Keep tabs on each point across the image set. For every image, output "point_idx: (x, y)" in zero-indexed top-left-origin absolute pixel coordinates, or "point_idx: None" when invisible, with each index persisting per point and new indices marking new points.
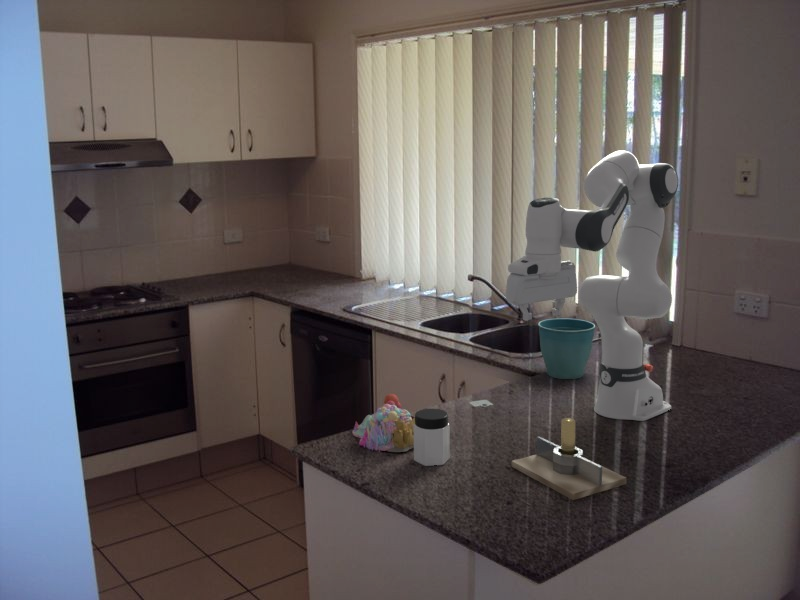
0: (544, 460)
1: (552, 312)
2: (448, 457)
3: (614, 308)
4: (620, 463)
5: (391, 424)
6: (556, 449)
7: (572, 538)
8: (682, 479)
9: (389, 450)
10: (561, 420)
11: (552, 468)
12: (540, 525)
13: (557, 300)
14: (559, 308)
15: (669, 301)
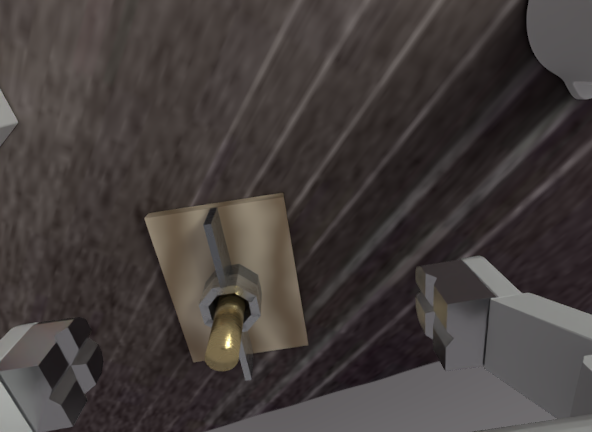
0: None
1: (428, 277)
2: (10, 129)
3: None
4: (354, 272)
5: None
6: (211, 296)
7: (142, 429)
8: (397, 350)
9: None
10: (205, 353)
11: (208, 276)
12: (114, 395)
13: (585, 409)
14: (494, 370)
15: None
